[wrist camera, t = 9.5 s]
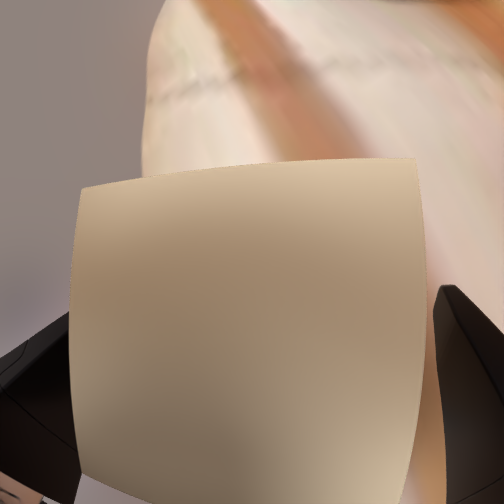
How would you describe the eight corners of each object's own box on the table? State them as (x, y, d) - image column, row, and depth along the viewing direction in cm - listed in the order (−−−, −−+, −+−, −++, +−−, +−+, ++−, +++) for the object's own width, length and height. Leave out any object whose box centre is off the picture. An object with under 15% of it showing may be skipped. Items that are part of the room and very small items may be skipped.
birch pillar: (359, 381, 15) (389, 535, 3) (244, 376, 16) (81, 473, 5) (363, 263, 16) (415, 158, 4) (248, 264, 17) (82, 188, 6)
